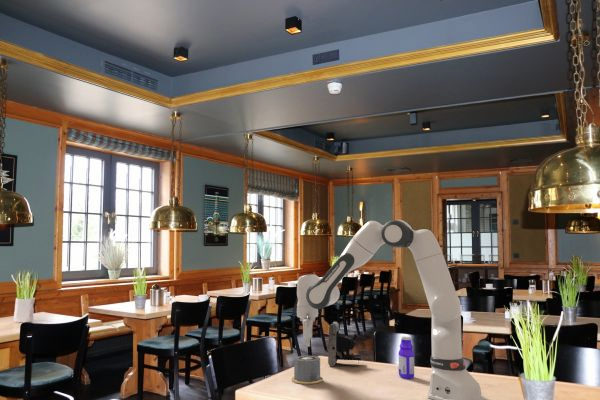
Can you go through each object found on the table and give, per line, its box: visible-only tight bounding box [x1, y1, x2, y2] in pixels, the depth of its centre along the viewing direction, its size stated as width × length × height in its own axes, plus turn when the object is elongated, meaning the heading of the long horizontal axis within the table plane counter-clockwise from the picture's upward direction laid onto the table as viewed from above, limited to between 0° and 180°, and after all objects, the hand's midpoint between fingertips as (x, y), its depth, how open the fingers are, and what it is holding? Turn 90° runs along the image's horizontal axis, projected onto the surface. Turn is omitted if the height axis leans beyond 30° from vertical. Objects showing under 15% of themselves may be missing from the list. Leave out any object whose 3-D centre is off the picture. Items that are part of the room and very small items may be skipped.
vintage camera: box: [327, 320, 363, 367], centre depth 247 cm, size 10×16×20 cm, turn 78°
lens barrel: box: [291, 355, 324, 385], centre depth 218 cm, size 13×13×9 cm
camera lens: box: [300, 357, 314, 360], centre depth 218 cm, size 6×6×4 cm
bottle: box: [398, 335, 415, 380], centre depth 224 cm, size 7×6×17 cm
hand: (307, 346), depth 219 cm, fingers closed
